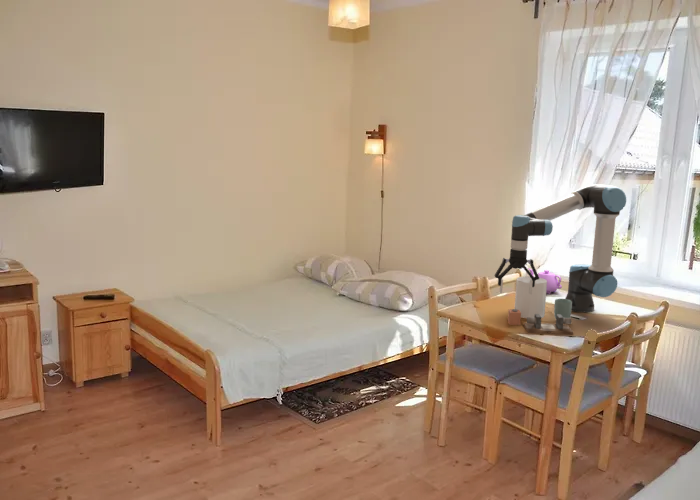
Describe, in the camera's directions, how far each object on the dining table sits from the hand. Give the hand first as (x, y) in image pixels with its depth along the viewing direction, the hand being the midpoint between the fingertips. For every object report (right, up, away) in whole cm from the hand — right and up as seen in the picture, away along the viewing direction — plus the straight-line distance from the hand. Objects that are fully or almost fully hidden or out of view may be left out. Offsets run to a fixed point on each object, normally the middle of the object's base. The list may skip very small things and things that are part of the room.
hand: (515, 293), depth 289 cm
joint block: (0, -15, +3) cm, 15 cm away
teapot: (+33, -4, +62) cm, 71 cm away
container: (+12, -12, +17) cm, 24 cm away
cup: (+25, -14, +8) cm, 29 cm away
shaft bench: (+13, -16, -6) cm, 22 cm away
